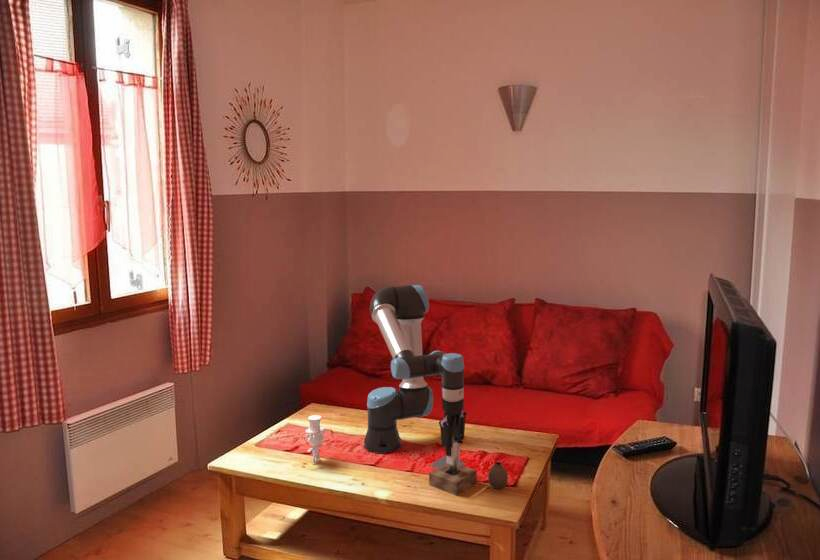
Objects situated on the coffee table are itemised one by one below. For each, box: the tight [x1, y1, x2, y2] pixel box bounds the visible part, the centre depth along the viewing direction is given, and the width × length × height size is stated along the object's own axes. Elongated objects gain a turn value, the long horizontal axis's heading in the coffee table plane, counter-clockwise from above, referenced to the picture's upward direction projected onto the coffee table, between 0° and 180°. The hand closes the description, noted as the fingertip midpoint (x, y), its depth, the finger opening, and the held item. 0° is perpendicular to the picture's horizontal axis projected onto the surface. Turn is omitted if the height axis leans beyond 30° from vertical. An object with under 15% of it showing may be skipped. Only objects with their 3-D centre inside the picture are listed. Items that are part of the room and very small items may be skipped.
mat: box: [429, 455, 467, 469], centre depth 246 cm, size 10×10×1 cm
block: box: [428, 463, 478, 497], centre depth 230 cm, size 12×12×5 cm
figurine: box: [303, 414, 326, 464], centre depth 249 cm, size 10×8×18 cm
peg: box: [449, 439, 457, 476], centre depth 229 cm, size 3×3×12 cm
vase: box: [487, 461, 509, 490], centre depth 229 cm, size 7×7×9 cm
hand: (453, 462), depth 229 cm, fingers closed on peg, 3 cm apart
